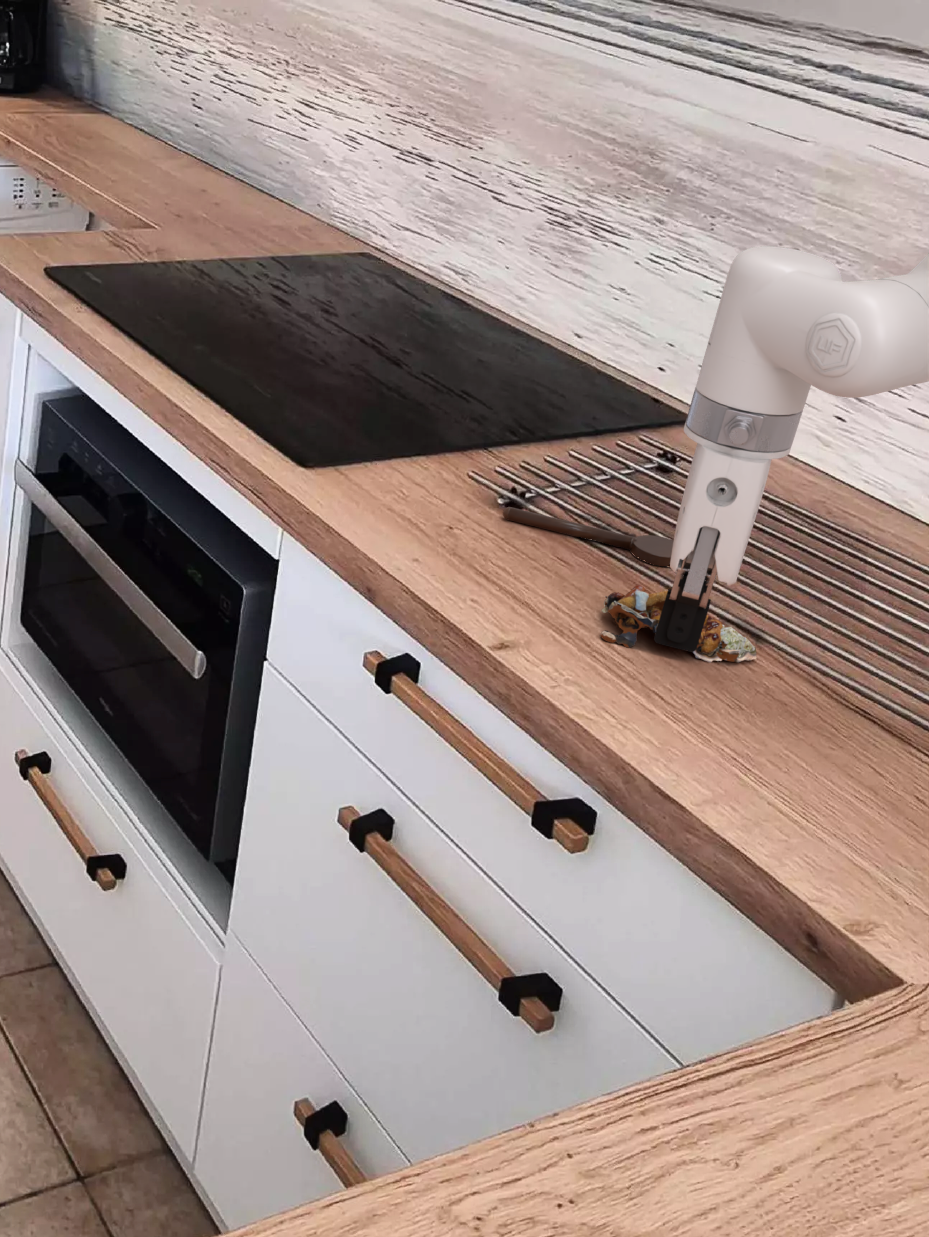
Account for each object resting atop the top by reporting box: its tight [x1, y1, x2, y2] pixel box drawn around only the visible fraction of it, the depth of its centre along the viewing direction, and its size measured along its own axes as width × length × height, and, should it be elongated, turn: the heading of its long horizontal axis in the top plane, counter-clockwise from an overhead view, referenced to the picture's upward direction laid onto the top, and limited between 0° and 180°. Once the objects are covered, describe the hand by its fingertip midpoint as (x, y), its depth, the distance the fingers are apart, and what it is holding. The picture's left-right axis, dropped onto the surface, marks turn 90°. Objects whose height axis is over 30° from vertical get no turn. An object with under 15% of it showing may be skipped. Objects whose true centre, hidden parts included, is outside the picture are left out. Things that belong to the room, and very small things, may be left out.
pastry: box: [599, 584, 757, 664], centre depth 135 cm, size 7×12×4 cm, turn 75°
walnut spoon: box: [502, 506, 674, 567], centre depth 152 cm, size 16×5×1 cm, turn 66°
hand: (675, 643), depth 131 cm, fingers closed
